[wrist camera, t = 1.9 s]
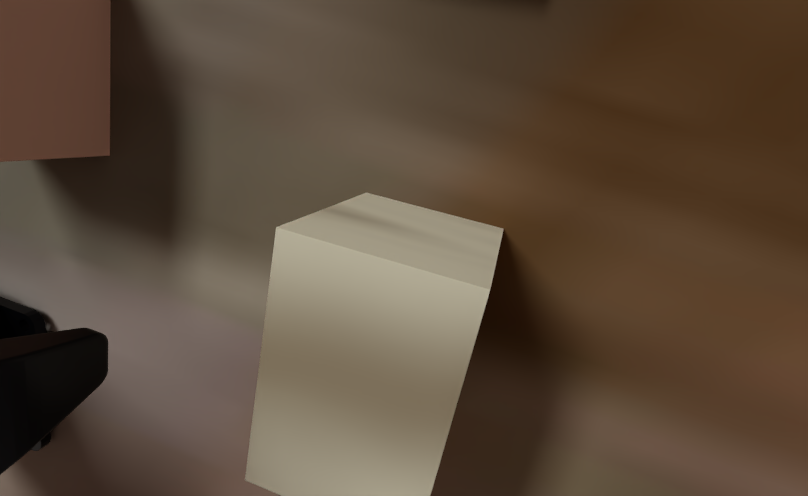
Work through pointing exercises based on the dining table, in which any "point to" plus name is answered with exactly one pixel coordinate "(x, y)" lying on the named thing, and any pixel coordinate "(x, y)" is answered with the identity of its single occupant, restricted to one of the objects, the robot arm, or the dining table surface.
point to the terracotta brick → (54, 79)
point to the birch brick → (366, 347)
